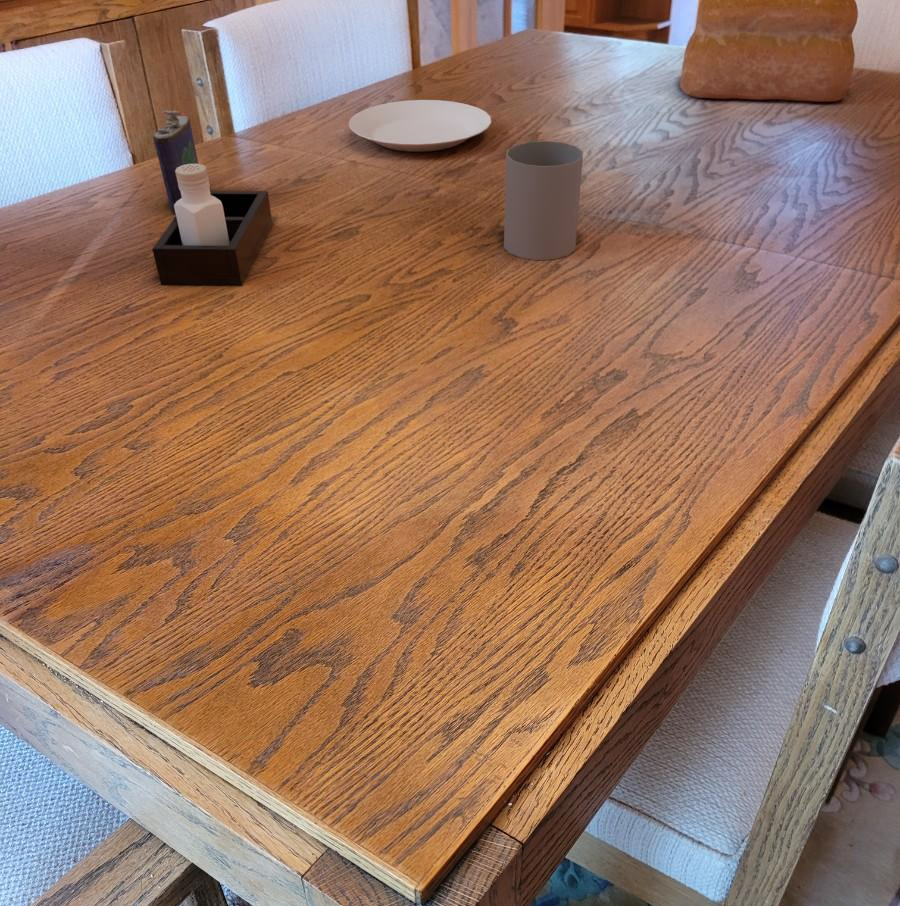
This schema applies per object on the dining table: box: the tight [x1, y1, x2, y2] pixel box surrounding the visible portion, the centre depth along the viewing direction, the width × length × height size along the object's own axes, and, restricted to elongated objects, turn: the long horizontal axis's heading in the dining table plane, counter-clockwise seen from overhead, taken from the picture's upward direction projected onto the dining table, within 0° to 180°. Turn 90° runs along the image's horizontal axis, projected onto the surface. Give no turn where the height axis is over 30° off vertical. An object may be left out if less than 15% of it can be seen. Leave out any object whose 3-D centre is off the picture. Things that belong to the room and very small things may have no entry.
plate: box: [348, 99, 492, 153], centre depth 133 cm, size 21×21×2 cm
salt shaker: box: [174, 163, 230, 246], centre depth 97 cm, size 4×4×10 cm
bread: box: [679, 0, 859, 103], centre depth 142 cm, size 14×26×15 cm, turn 81°
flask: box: [152, 109, 199, 215], centre depth 112 cm, size 9×3×11 cm, turn 175°
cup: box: [503, 140, 584, 261], centre depth 101 cm, size 8×8×10 cm
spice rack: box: [151, 190, 273, 287], centre depth 103 cm, size 9×17×4 cm, turn 177°
